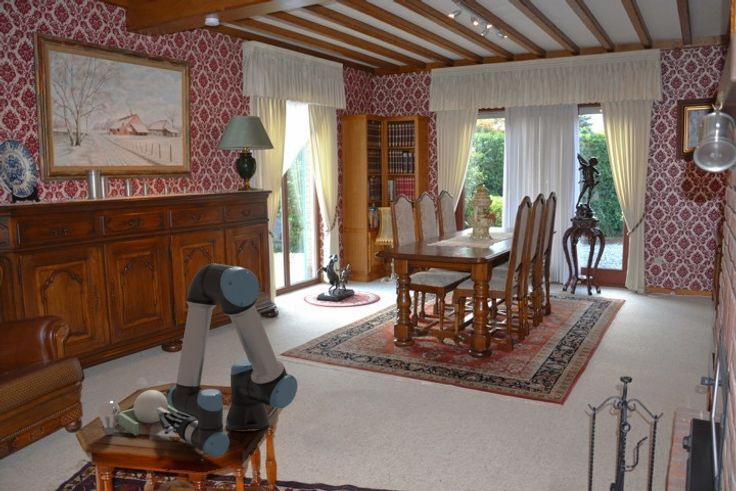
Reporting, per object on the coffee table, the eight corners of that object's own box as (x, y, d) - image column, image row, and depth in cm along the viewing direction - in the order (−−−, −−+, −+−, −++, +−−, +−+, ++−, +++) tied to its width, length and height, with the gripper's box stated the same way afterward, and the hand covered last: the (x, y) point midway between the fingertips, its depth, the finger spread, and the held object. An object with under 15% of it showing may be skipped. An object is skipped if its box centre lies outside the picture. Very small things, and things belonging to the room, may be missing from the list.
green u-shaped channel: (181, 422, 223) (180, 411, 222) (135, 435, 211) (135, 424, 210) (161, 411, 233) (161, 401, 232) (117, 423, 220) (117, 412, 220)
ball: (179, 396, 225) (159, 396, 232) (154, 385, 217) (134, 385, 224) (167, 428, 219) (147, 427, 226) (141, 417, 212) (121, 416, 218)
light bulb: (112, 440, 207) (111, 405, 205) (94, 438, 208) (93, 403, 207) (124, 432, 213) (124, 398, 212) (106, 430, 215) (105, 396, 213)
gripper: (175, 448, 195) (141, 426, 211) (212, 437, 204) (176, 416, 221) (175, 425, 194) (141, 405, 211) (211, 415, 204) (176, 396, 220)
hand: (159, 411), depth 216 cm, fingers closed
